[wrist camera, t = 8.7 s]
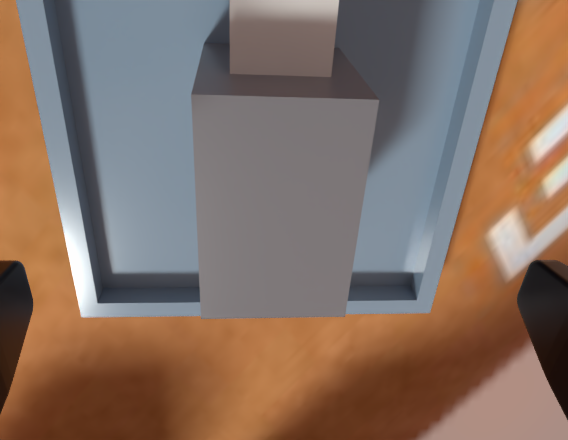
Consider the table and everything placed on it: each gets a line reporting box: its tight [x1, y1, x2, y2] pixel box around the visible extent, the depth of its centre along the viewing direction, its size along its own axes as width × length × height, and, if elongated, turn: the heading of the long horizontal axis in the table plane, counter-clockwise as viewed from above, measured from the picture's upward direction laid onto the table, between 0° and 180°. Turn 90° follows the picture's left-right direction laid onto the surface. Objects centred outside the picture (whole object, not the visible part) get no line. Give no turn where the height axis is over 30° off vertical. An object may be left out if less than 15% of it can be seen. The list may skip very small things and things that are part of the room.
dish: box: [16, 0, 518, 317], centre depth 14 cm, size 12×12×1 cm
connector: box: [191, 0, 379, 319], centre depth 12 cm, size 7×4×4 cm, turn 177°
